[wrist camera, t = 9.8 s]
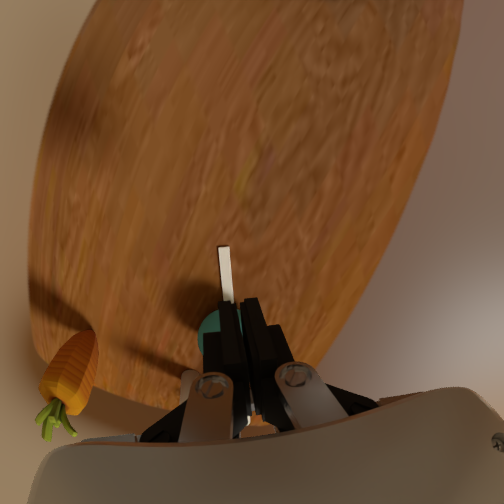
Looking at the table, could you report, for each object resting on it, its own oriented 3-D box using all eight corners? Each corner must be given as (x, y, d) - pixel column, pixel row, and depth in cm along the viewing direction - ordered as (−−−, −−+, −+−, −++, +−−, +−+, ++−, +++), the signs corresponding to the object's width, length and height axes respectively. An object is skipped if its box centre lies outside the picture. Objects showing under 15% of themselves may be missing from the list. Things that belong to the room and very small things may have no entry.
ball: (202, 369, 28) (200, 315, 30) (259, 367, 28) (255, 313, 31) (194, 369, 23) (192, 302, 25) (264, 367, 23) (260, 300, 25)
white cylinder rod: (179, 370, 31) (176, 430, 23) (199, 369, 31) (200, 429, 23) (183, 383, 32) (181, 442, 24) (202, 382, 32) (204, 441, 24)
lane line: (218, 247, 27) (218, 247, 26) (229, 246, 27) (229, 246, 26) (226, 327, 30) (226, 328, 30) (235, 326, 30) (236, 327, 30)
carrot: (94, 306, 27) (38, 411, 13) (120, 340, 29) (85, 450, 15) (66, 321, 27) (10, 417, 13) (91, 353, 29) (52, 452, 15)
